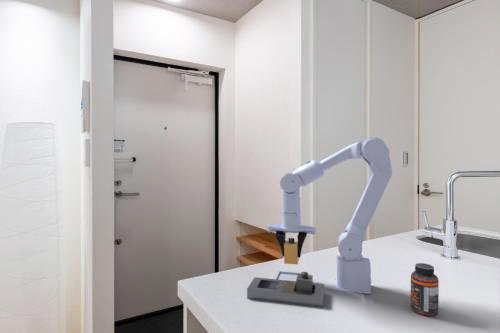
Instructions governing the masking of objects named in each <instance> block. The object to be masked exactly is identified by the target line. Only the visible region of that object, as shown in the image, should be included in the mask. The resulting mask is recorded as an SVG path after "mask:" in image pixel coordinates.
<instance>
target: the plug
mask: <svg viewBox="0 0 500 333" xmlns="http://www.w3.org/2000/svg"><path fill="white" fill-rule="evenodd" d="M299 262H300V258H298V240H295V238H294V237H288V240H286V239H285V243H284V256H283V263H284V264H285V265H286V264H287V265H297V266H298V264H299Z"/></svg>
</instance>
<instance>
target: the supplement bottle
mask: <svg viewBox="0 0 500 333" xmlns="http://www.w3.org/2000/svg"><path fill="white" fill-rule="evenodd" d="M439 283H440V282H439V277H438V276H437V275H436V274H435V267H434V265H432V264H428V263H425V262H423V263H422V262H418V263H416V264H415V266H414V271H412V272H411V274H410V308H411V310H412V311H414V312H415V313H417V314H418V315H422V316H426V317H433V316H437V315H438V314H439V293H440V292H439V290H440V289H439V286H440V285H439Z"/></svg>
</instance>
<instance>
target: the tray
mask: <svg viewBox="0 0 500 333" xmlns="http://www.w3.org/2000/svg"><path fill="white" fill-rule="evenodd" d="M301 272H302V271H291V270H289V271H288V270H277V271H276V273H275V275H274V277H273V279H277V280H288V281H296V279H297V276H298V274H301ZM307 273H308V275H311V272H307Z"/></svg>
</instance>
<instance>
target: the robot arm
mask: <svg viewBox="0 0 500 333" xmlns="http://www.w3.org/2000/svg"><path fill="white" fill-rule="evenodd" d="M351 159H363V161H365V162H366V163H367V166H368V168H369V169H370V171H371V175H370V178H369V180H368V183H367V184H366V187H365V189H364V190H363V193H362V196H361V197H360V200H359V201H358V204H357V206H356V208H355V211H354V213H353V214H352V216H351V217H352V218H351V219H350V221H349V222H348V224H347V226H346V228H345V229H344V230H343V231H341V233H340V234H339V235H338V238H337V243H338V252H337V253H336V278H335V280H334V281H335V282H334V283H335V285H334V286H335V287H334V288H335V290H336V291H341V292H351V293H361V294H365V295H371V294H372V291H371V290H372V286H371V285H372V278H371V277H372V276H371V274H372V272H371V271H372V269H371V260H370V258H369V257H363V254H362V252H363V243H364V240H365V236H366V232H367V229H368V227H369V225H370V223H371V220H372V218H373V216H374V215H375V212H376V210H377V207H378V205H379V203H380V201H381V199H382V197H383V195H384V193H385V190H386V188H387V186H388V184H389V182H390V180H391V177H392V175H393V169H392V164H391V163H392V162H391V157H390V149H389V148H388V146H387V145H386V143H385V141H384V140H382V139H381V138H379V137H377V136H371V137H369V138H367V139H365V140H361V141H358V142H355V143H352V144H350V145H348V146H345V147H344V148H342V149H339V151H336V152H334V153H333V154H331V155H330V156H328V157H326V158H324V159H322V160H321V161H319V160H315V159H312V160H311V161H310V160H309V159H308V160H306V161H305V164H303V165H302V166H300V167H297V168H293V169H291V172H287V173H285V174H284V175H282V176H281V178H280V179H279V180H280V181H279V185H280V188H281V224H268V225H267V233H275V238H276V240H277V241H278V244H279V246H280V249H281V253H282V254H281V255H282V257H284V243H285V241H286V236H287V235H286V233H287V234H288V233H291V234H297V241H298V258H299V259H300V258H301V256H302V249H303V245H304V243H305V240H306V238H307V235H308V234H309V235H316V232H317V231H316V226H309V225H302V222H301V219H302V216H301V215H302V214H301V196H300V188H301V187H306V186H307V185H310V184H311V183H313V182H315V181H317V180H319V179H321V178H324V174H325V171H326V170H330V169H331V168H333V167H336V166H337V165H339V164H341V163H344V162H345V161H348V160H351Z"/></svg>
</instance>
